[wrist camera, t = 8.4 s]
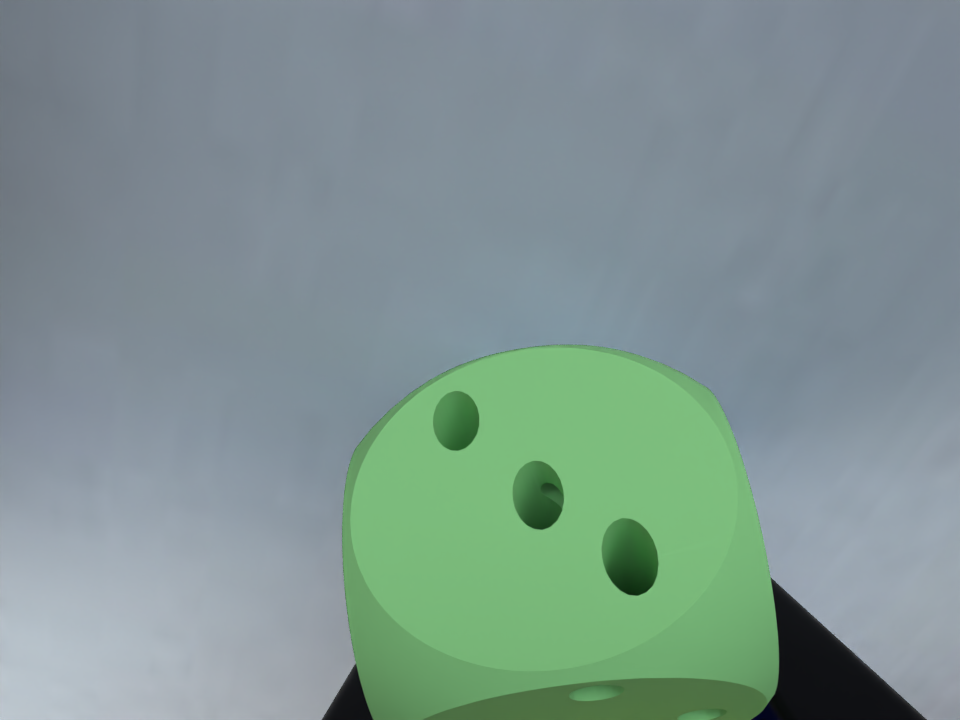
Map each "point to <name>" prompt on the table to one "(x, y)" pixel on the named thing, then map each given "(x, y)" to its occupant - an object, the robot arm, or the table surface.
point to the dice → (557, 547)
